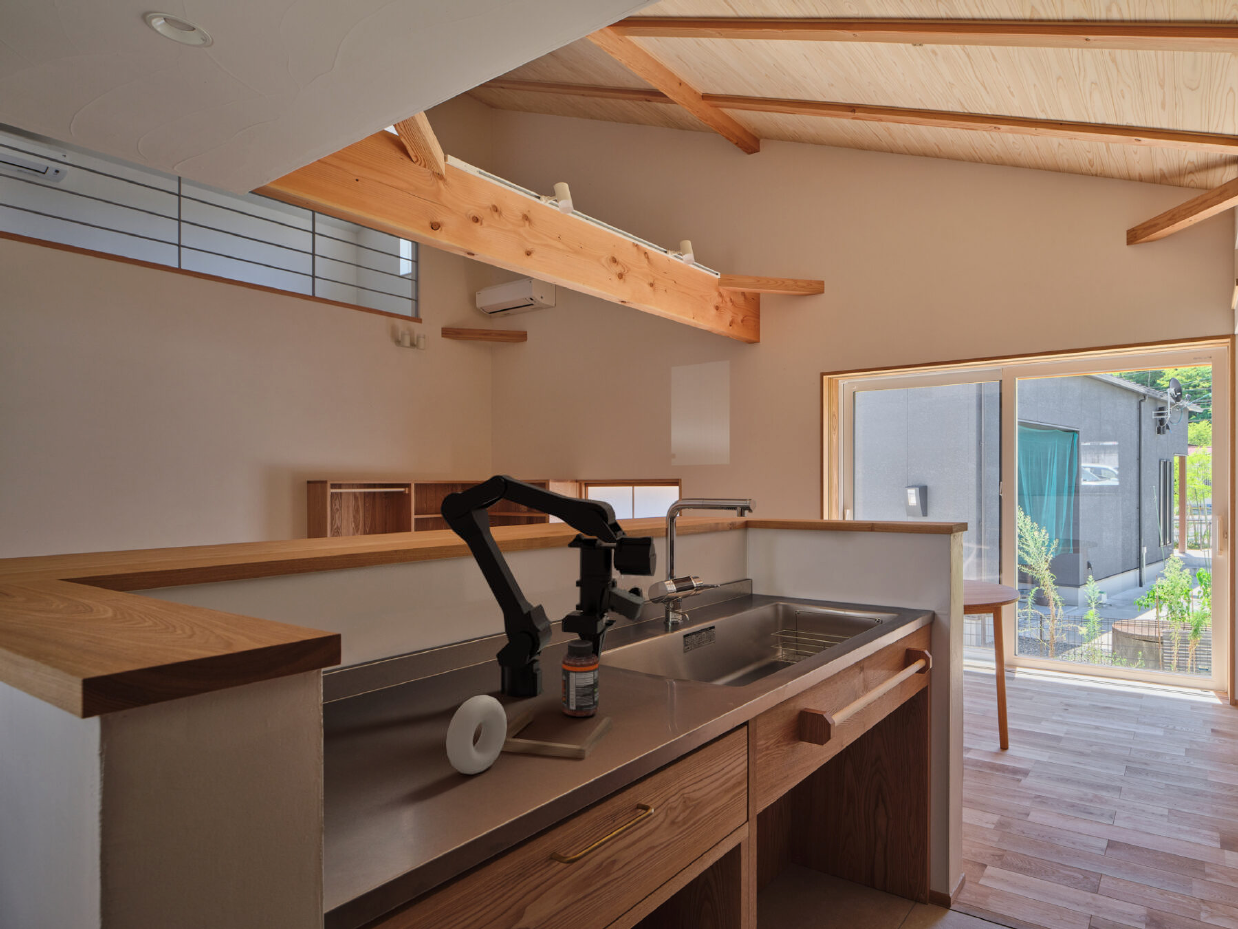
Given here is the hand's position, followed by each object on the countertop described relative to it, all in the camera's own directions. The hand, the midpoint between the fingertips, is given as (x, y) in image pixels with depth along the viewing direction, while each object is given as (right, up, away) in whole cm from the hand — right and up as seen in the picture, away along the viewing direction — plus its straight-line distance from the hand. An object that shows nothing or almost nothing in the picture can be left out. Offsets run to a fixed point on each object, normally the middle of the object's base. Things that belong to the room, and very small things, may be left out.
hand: (595, 663), depth 129 cm
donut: (-14, -6, -32) cm, 35 cm away
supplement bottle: (-2, -6, -8) cm, 10 cm away
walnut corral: (-5, -6, -20) cm, 21 cm away
